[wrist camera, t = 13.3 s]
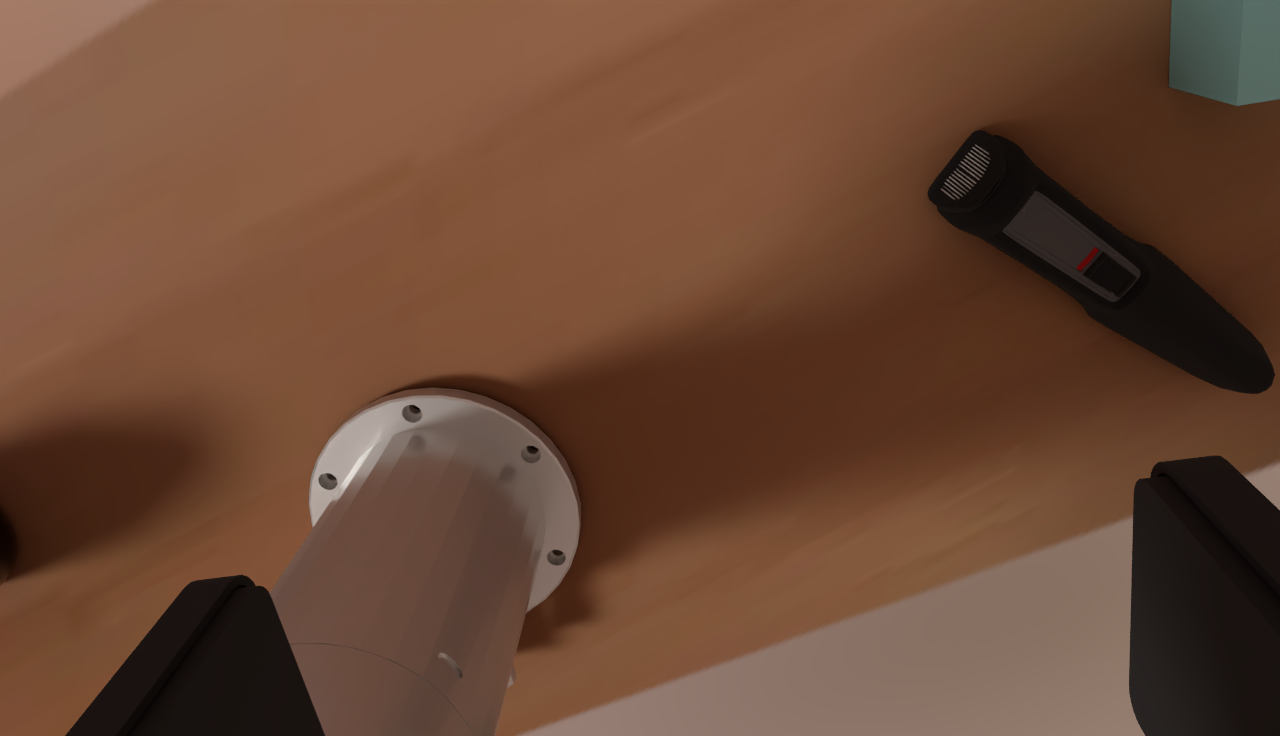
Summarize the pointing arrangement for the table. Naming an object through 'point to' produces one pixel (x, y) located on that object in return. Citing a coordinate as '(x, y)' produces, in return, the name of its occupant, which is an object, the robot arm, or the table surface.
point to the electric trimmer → (1096, 263)
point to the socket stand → (1226, 49)
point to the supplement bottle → (6, 550)
